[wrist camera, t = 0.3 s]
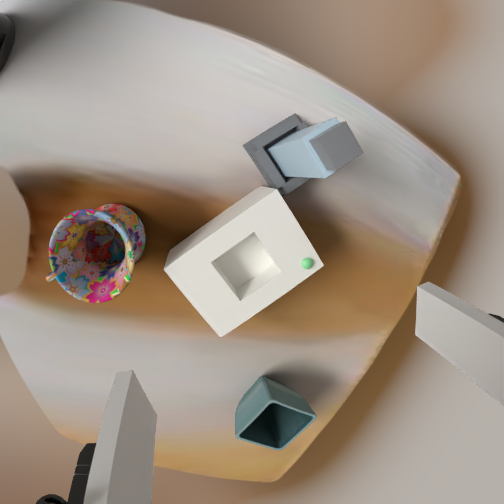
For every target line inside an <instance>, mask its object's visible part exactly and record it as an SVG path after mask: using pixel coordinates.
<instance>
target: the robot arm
mask: <svg viewBox="0 0 504 504" xmlns="http://www.w3.org/2000/svg"><path fill="white" fill-rule="evenodd" d="M14 37H15V27H14V24H13V22H12V20H11V19H10V18H8V17H7V16H6V15H5V14H3V13H0V71H1V69H2V67H3V66H4V64H5V62H6V60H7V58H8V56H9V54H10V51H11V49H12V45H13V42H14ZM415 335H416V336H418V337H419V338H420V339H422V340H423V341H424V342H425V343H427V344H428V345H429V346H430V347H432V348H433V349H434V350H435V351H437V352H438V353H439V354H440V355H442V356H443V357H444V358H445V359H447V360H448V361H449V362H450V363H452V364H453V365H454V366H455V367H457V368H458V369H459V370H460V371H462V372H463V373H464V374H465V375H466V376H468V377H469V378H470V379H471V380H473V381H474V382H475V383H476V384H477V385H479V386H480V387H481V388H482V389H483V390H485V391H486V392H487V393H488V394H489V395H491V396H492V397H493V398H494V399H495V400H497V401H498V402H499V403H500V404H501V405H503V406H504V318H502V317H500V316H497V315H493V314H487V313H485V312H484V311H482V310H480V309H478V308H476V307H475V306H473V305H471V304H469V303H467V302H465V301H464V300H462V299H460V298H458V297H456V296H454V295H452V294H451V293H449V292H447V291H445V290H443V289H441V288H440V287H438V286H436V285H434V284H432V283H430V282H427V283H425V284H422V285H420V286H417V313H416V329H415ZM156 419H157V414H156V413H155V411H154V409H153V407H152V406H151V404H150V402H149V400H148V398H147V396H146V395H145V393H144V391H143V389H142V387H141V385H140V383H139V381H138V379H137V377H136V375H135V373H134V371H133V370H129V371H123V372H117V373H116V377H115V380H114V383H113V386H112V389H111V393H110V396H109V399H108V403H107V406H106V410H105V413H104V417H103V421H102V424H101V428H100V432H99V436H98V439H97V443H89V444H86V446H85V447H84V448H83V450H82V451H81V452H80V454H79V458H78V462H77V467H76V469H75V475H74V477H73V481H72V485H71V489H70V493H69V498H68V502H66V501H65V500H64V499H63V498H61V497H60V496H58V495H54V494H49V495H46V496H43V497H41V498H40V499H39V500H38V501H37V503H36V504H152V483H153V462H154V445H155V432H156Z"/></svg>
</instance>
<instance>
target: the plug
mask: <svg viewBox="0 0 504 504" xmlns="http://www.w3.org/2000/svg"><path fill="white" fill-rule="evenodd" d="M266 151H267V152H268V154H269V155H270V157H271V159H272V160H273V162H274V163H275V165H276V166H277V168H278V169H279V171H280V172H281V174H282V176H286V177H308V178H327V177H328V176H329V175H331V174H332V173H334V172H335V171H337V170H338V169H340V168H341V167H343V166H344V165H346V164H347V163H349V162H350V161H352V160H353V159H355V158H356V157H358V156H359V155H361V154H362V153H363V151H362V149H361V147H360V145H359V144H358V142H357V140H356V138H355V136H354V135H353V133H352V131H351V129H350V128H349V126H348V124H347V123H346V121H345V122H341V123H340V122H339V120H338V119H337V117H335V118H332V119H329V120H327V121H324V122H321V123H318V124H316V125H313V126H310V127H308V128H305V129H302V130H300V131H297V132H295V133H292V134H290V135H289V136H287V137H285V138H284V139H282V140H281V141H279V142H277V143H276V144H274V145H273V146H271V147H269V148H268V149H266Z"/></svg>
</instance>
